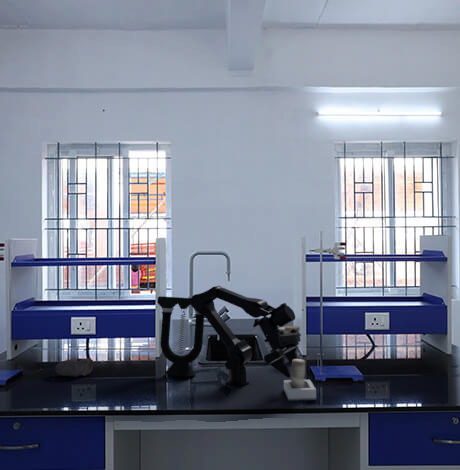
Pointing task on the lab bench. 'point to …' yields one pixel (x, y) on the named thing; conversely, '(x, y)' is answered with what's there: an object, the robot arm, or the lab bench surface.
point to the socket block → (300, 391)
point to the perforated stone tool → (75, 367)
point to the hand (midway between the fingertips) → (294, 373)
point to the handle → (289, 328)
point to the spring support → (179, 362)
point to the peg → (298, 373)
